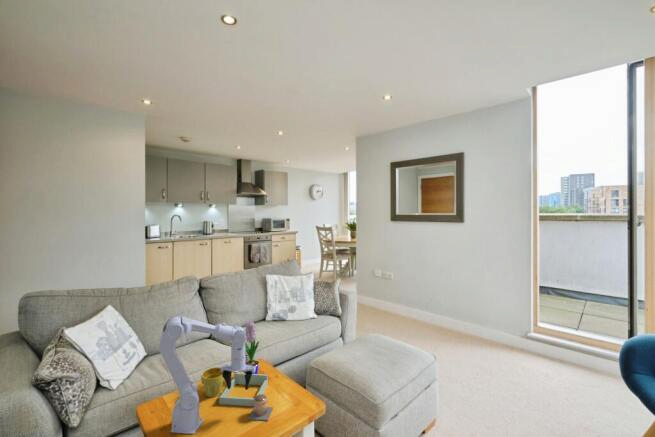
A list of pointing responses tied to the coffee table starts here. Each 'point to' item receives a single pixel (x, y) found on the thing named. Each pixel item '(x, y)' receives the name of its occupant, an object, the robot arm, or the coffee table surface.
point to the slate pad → (261, 418)
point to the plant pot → (212, 381)
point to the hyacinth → (252, 337)
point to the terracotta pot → (260, 404)
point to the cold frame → (240, 379)
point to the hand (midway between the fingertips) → (238, 388)
